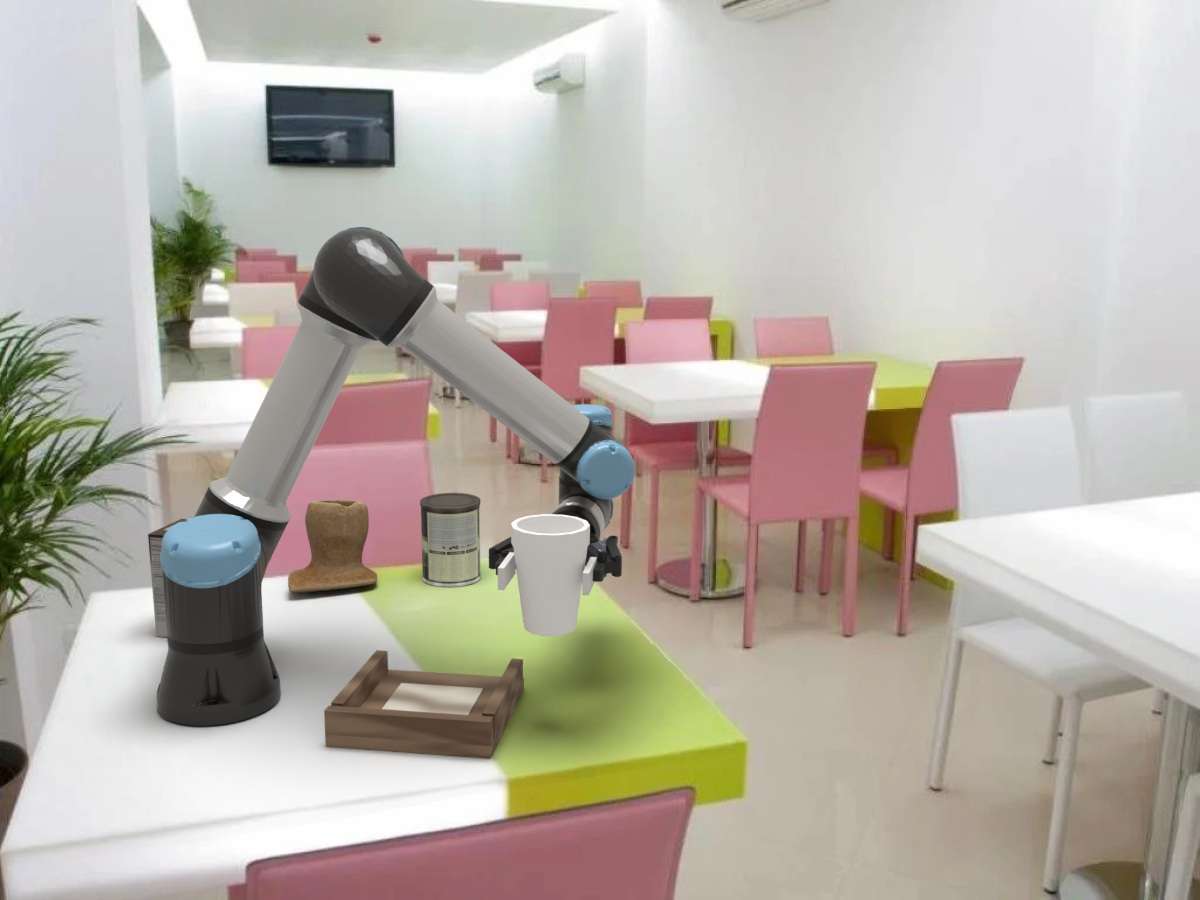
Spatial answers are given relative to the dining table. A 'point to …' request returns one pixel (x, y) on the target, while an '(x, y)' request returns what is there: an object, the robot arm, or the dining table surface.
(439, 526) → the coffee can
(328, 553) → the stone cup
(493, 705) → the tray
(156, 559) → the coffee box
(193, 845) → the dining table surface
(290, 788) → the dining table surface
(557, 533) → the foam cup
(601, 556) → the robot arm
